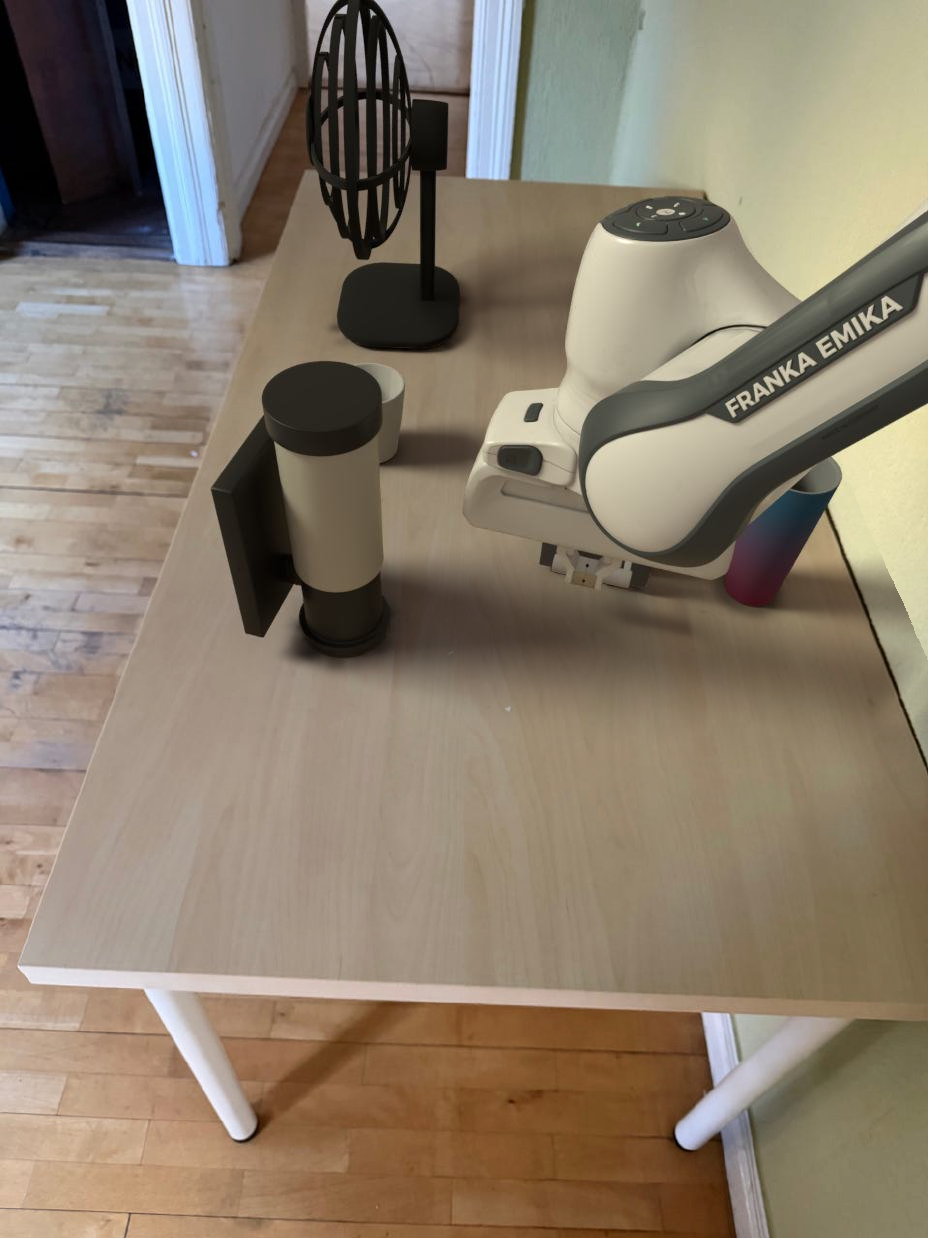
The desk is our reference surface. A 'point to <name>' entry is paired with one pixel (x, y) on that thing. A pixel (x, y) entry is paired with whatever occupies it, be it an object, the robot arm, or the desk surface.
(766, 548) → the cup
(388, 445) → the cup
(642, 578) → the drawer
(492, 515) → the robot arm
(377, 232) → the desk fan
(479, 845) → the desk surface
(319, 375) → the light fixture
